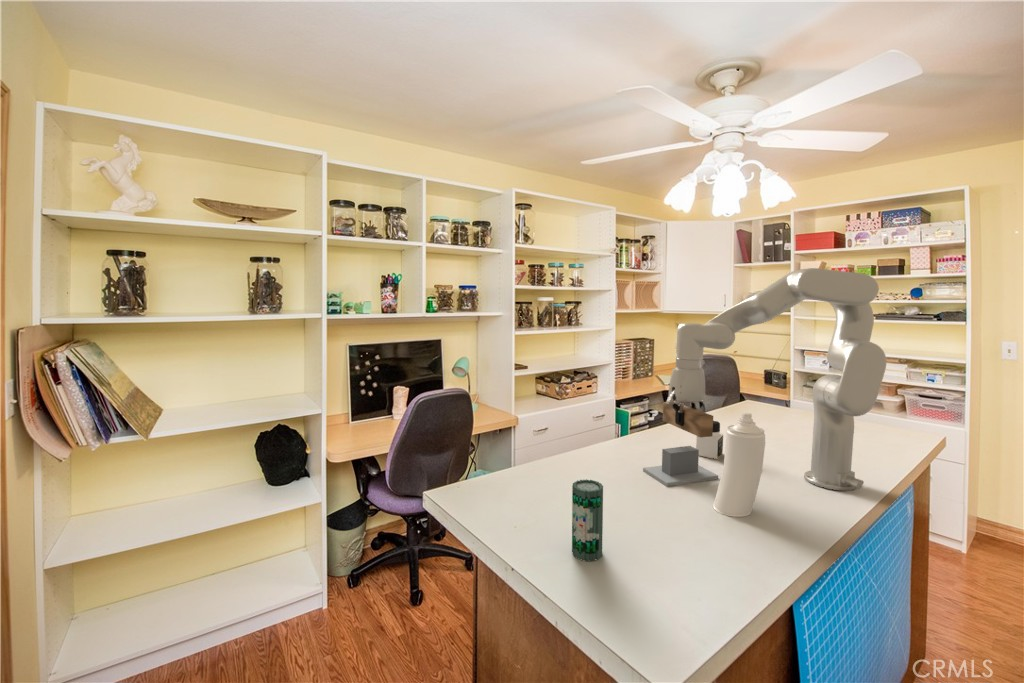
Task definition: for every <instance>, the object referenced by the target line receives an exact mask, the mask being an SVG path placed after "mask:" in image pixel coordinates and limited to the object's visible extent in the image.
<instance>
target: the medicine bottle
mask: <svg viewBox="0 0 1024 683" xmlns="http://www.w3.org/2000/svg"><path fill="white" fill-rule="evenodd" d="M720 431H721V423H720V422H719V421H717V420H715V419H713V433H712V436H711V437H698V436H696V435H695V436H696V438H695V440H696V441H695V448H696V449H698V450H699V457H702V456H703V457H704V458H709V459H713V458H714V460H718V459H719V458H720V457H721V456H722V454H723V453H724V452H723V450H724V449H723V448H724V433H721V432H720ZM703 457H702V458H703Z"/></svg>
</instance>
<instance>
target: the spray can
mask: <svg viewBox="0 0 1024 683" xmlns="http://www.w3.org/2000/svg"><path fill="white" fill-rule="evenodd" d="M752 417H753V414H752V413H751V412H747V413H746V412H745V413H742V414H741V417H740V418H739V420H737V423H735V424H731V425H729V426H727V430H726V434H725V447H724V448H725V449H724V457H723V468H722V470H721V476H720V479H719V483H718V487H717V491H716V496H715V498H714V502H713V504H712V508H713V510H715V511H716V512H717V513H719V514H722V515H723V516H728V517H735V518H744V517H748V516H749V515H751V513H752V510H753V508H754V505H755V502H756V499H757V498H756V497H757V494H758V491H759V490H758V489H759V486H760V481H761V477H762V473H763V464H764V457H765V449H766V434H765V430H764V429H763V428H761V427H759V426H758V425H757V424H756V422H754V420H753V418H752Z"/></svg>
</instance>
